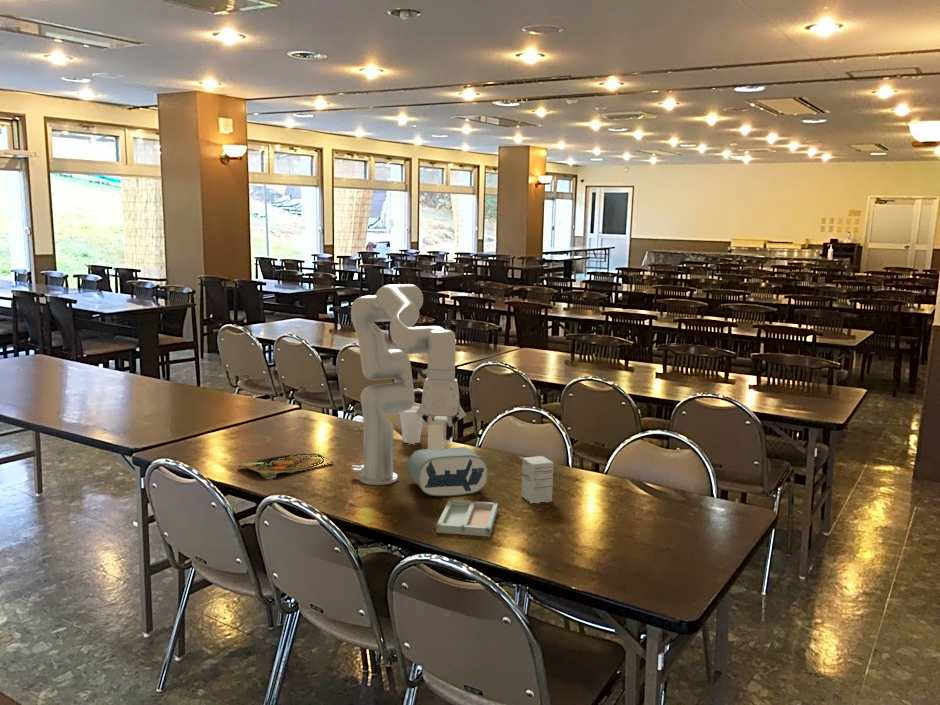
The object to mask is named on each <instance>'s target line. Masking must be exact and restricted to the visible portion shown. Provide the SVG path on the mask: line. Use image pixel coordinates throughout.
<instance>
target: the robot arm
mask: <svg viewBox="0 0 940 705" xmlns="http://www.w3.org/2000/svg"><path fill="white" fill-rule="evenodd" d="M423 304H424V295H423V293H422V290H421V289H420V288H419V287H418V286H417V285H415V284H411V283H408V284H407V283H405V284H403V283H402V284H401V283H400V284H396V283H395V284H386V285H383V286H381V287H380V288H378V289H377V291H376V293H375V294H374V295H371V294H369V295H364V296H359V297H357V298H356V299H354V301H353V302H352V304H351V307H350V308H351V309H350V317H351V322H352V325H353V329H354V330H355V333H356V336H357V339H358V340H357V341H358V349H359V356H360V364H361V365H360V366H361V370H362V374H363V377H364V379H366V380H369V381H378V380H379V381H381V380H392V379H393V381H394V382H389V383H388V382H387V383H386V382H385V383H377V384H371V385H368V386H366V387H365V388H363V389H362V391H361V393H360V404H361V405H360V406H361V411H362V416H363V420H362V421H363V464H361V465H355V464H352V465H351V466H350V469H351V472H352V473H354V474H359V476H358V480H359V482H360V483H362V484H365V485H369V486H386V485H391V484H394V483H395V482H397V481H398V478H399V477H398V476H399V475H398V474H397V473H395V472H394V425H393V422H392V421H391V419H390V418H388V416H387V414H390V413H399V412H400V411H406V410H409V409H411V408H412V407H413V406H414V403H415V389H414V388H415V387H414V380H413V379H414V378H413V374H412V373H413V372H412V364H411V360H410V357H409V355H415V354H416V355H417V354H427V368H425V369H422V375H425V376H426V378H425V379H424V380H423V385H422V386H423V388H422V395H421V404H420V405H419V406H418V407H419V409H418V410H417V412H416V414H417V415H419V416H420V417H422V418H423V422H425V423H426V425H427V426H428V424H429V423H430V422H431V421H432V420H433V419H434V418H435V417H436V416H447V420H448V426H447V427H446V440H448V441H449V440H450V438H451V437H452V438H453V436H454V435H453V434H454V425H455V424H456V423H457V422H458V421H459V420H462V419H463V418H465V416H466V415H467V414H466V412H465V411H464V409H463V408H462V406H461V404H460V391H459V382H458V379H457V378H456V334H455V332H454V331H453V330H451V329H445V328H443V327H442V326H439V325H428V326H427V325H426V326H425V325H424V326H423V325H422V326H415V325H416V323H417V321H418V319H419V317H420V309H421V308H422V307H423ZM379 322H380V323H383V322H390V324H389V334H390V338H391V340H392V342H393V343H394V344H395V346H396V347H397V348H398V349H396V348H394V349H392V348H391V349H388V348H387V345H386V337H385V335H384V332H383V331H382V329H381V328H380V327H379V326H378V325H377V324H376V323H379ZM452 438H451V439H452ZM450 441H451V440H450ZM450 441H449V442H450Z"/></svg>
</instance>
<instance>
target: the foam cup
mask: <svg viewBox="0 0 940 705" xmlns="http://www.w3.org/2000/svg"><path fill="white" fill-rule="evenodd" d="M419 407H420V406H415V405H413V407H412V408H411V409H409V410H406V411H400V412H398V413H399V414H398V415H399V418H400V427H401V435H402V442H405V443H410V444H413V445H415V444H414V443H418V442H419V443H420V442H421V435H422V429H423V422H424V420H423V418H422V417H420V416H419V415H417V414H416V412H417V410H418V409H419ZM419 443H418V444H419ZM410 444H409V445H410Z"/></svg>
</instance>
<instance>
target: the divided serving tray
mask: <svg viewBox="0 0 940 705" xmlns="http://www.w3.org/2000/svg"><path fill="white" fill-rule="evenodd" d="M498 509H499V503H498V502H489V501H474V500H462V499H450V498H449V499H448V501H447V503H446V504H445V507H444V509H443V511H442V513H441V514H440V517H439V519H438V521H437V523H436V533H441V534H451V535H452V534H455V535H464V536H465V535H467V536H477V537H478V536H479V537H491V533H492V531H493V527H494V523H495V521H496V518H495V517H497V514H498V511H499V510H498Z"/></svg>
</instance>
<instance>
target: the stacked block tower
mask: <svg viewBox="0 0 940 705" xmlns="http://www.w3.org/2000/svg"><path fill="white" fill-rule="evenodd" d="M521 468H522V469H521V471H522V472H521V492H520V493H521V494H520V495H521V497H522V498H523V499H525V500H527V502H528V501H529V502H528V503H529V504H530V505H533V504H532V503H536V504H541V503H540V502H545V503H551V502H552V501H553V487H554V486H553V484H554V482H553V480H554V462H553V461H552V460H550V459H548V458H547V457H545V456H543V455H537V456H528V457H527V456H526V457H522V467H521ZM550 501H551V502H550Z"/></svg>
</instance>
